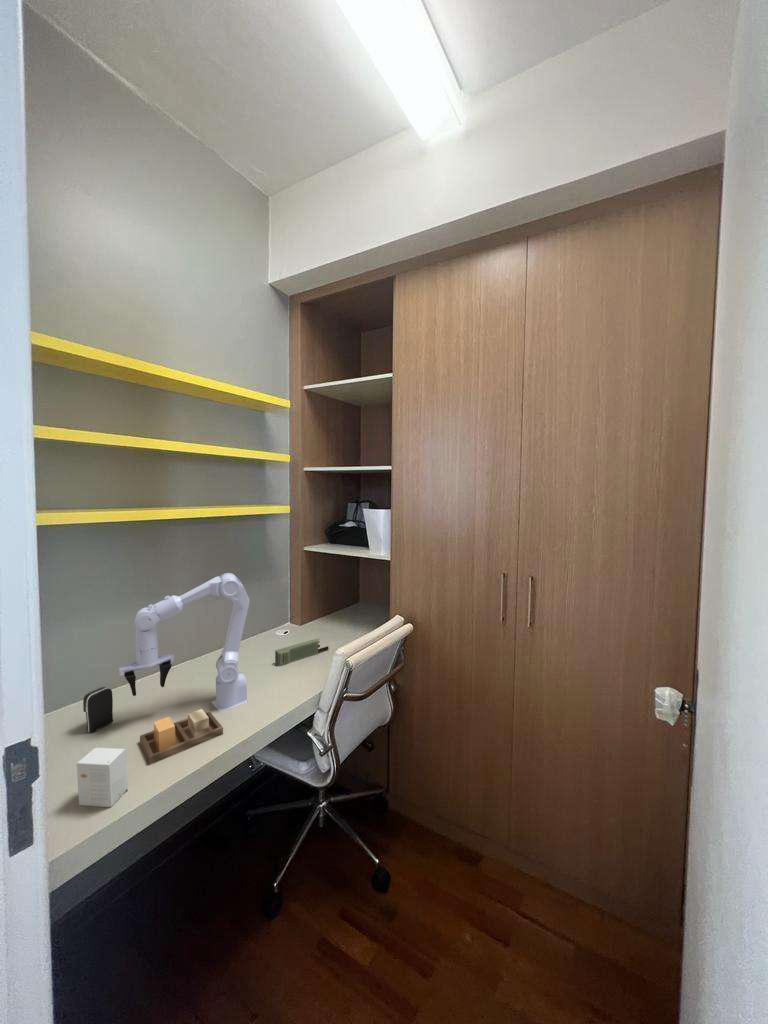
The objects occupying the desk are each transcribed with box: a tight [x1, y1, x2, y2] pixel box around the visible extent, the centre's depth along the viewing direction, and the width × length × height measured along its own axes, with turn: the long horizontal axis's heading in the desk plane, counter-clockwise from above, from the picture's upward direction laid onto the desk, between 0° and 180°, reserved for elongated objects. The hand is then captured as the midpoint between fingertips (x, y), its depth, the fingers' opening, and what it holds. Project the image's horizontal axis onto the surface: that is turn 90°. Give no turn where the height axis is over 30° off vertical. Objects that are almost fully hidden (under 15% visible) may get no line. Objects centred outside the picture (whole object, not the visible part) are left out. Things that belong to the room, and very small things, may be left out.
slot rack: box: [139, 710, 224, 766], centre depth 114 cm, size 19×12×3 cm, turn 133°
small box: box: [76, 747, 129, 808], centre depth 93 cm, size 8×6×10 cm
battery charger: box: [82, 686, 114, 734], centre depth 120 cm, size 7×4×11 cm, turn 155°
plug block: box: [153, 716, 176, 751], centre depth 111 cm, size 4×6×6 cm, turn 43°
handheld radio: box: [274, 637, 329, 667], centre depth 169 cm, size 7×3×25 cm
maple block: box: [187, 708, 209, 738], centre depth 117 cm, size 4×6×5 cm, turn 43°
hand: (148, 690), depth 122 cm, fingers open, 7 cm apart
